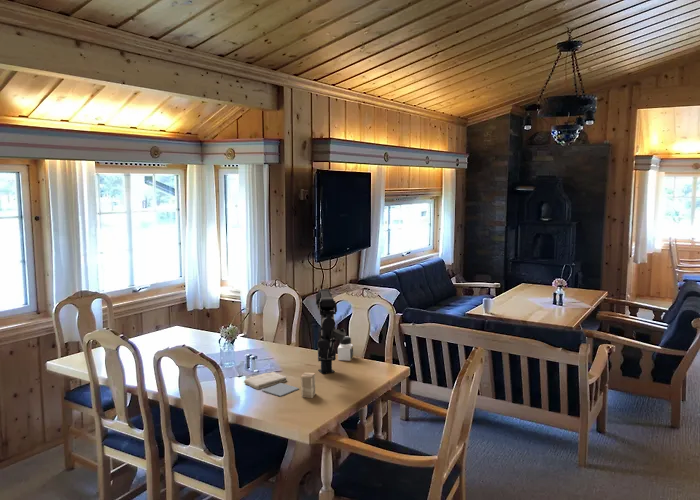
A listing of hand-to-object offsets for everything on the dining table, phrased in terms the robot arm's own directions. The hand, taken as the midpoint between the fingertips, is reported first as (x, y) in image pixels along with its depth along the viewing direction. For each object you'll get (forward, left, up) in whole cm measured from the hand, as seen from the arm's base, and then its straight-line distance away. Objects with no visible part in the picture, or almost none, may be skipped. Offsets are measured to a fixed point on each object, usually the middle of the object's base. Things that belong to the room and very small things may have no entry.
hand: (328, 356), depth 282 cm
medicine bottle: (-31, +23, -13) cm, 41 cm away
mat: (-2, -24, -13) cm, 27 cm away
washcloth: (-16, -26, -14) cm, 34 cm away
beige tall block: (+11, -15, -13) cm, 23 cm away
